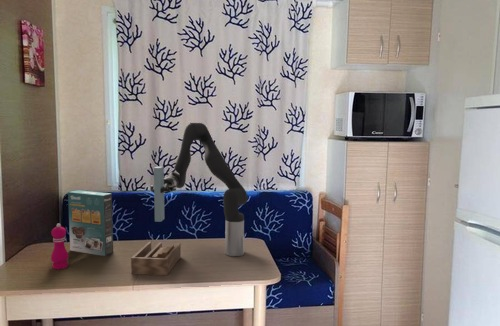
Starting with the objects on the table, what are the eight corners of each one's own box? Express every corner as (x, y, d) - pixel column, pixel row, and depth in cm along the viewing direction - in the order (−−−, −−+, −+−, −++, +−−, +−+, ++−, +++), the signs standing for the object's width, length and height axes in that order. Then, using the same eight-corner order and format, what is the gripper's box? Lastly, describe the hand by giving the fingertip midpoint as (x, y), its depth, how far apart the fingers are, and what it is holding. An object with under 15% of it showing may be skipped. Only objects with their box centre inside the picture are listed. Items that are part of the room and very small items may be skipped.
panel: (164, 218, 201) (163, 166, 198) (160, 221, 195) (159, 168, 192) (158, 218, 201) (157, 166, 198) (154, 221, 195) (153, 168, 192)
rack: (180, 256, 198) (180, 242, 197) (167, 275, 175) (166, 259, 174) (149, 255, 199) (148, 241, 199) (131, 273, 176) (131, 257, 176)
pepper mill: (65, 262, 189) (63, 220, 186) (71, 266, 183) (69, 223, 181) (48, 266, 184) (47, 223, 181) (54, 270, 178) (52, 226, 176)
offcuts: (174, 260, 194) (174, 243, 193) (166, 270, 181) (166, 252, 180) (160, 259, 194) (160, 243, 194) (152, 269, 182) (151, 252, 181)
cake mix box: (113, 252, 204) (111, 193, 201) (105, 256, 198) (103, 195, 195) (79, 247, 212) (77, 190, 208) (70, 250, 206) (68, 192, 203)
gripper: (154, 177, 211) (142, 182, 194) (180, 178, 209) (171, 183, 192) (154, 191, 211) (143, 198, 194) (181, 192, 210) (171, 199, 193)
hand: (157, 190), depth 193 cm, fingers closed on panel, 3 cm apart
